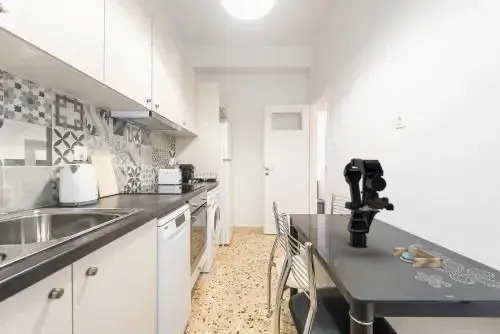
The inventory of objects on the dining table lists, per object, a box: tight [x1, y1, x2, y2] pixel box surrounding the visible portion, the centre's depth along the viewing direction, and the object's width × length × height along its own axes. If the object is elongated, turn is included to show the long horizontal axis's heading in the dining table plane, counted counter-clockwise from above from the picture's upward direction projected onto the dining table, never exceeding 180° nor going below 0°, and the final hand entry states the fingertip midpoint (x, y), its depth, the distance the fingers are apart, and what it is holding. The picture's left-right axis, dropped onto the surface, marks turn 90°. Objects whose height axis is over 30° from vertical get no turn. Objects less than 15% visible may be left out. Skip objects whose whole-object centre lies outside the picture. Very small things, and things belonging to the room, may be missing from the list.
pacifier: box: [399, 244, 416, 264], centre depth 112 cm, size 7×6×6 cm
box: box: [392, 247, 444, 268], centre depth 112 cm, size 11×14×3 cm
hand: (368, 226), depth 118 cm, fingers closed
